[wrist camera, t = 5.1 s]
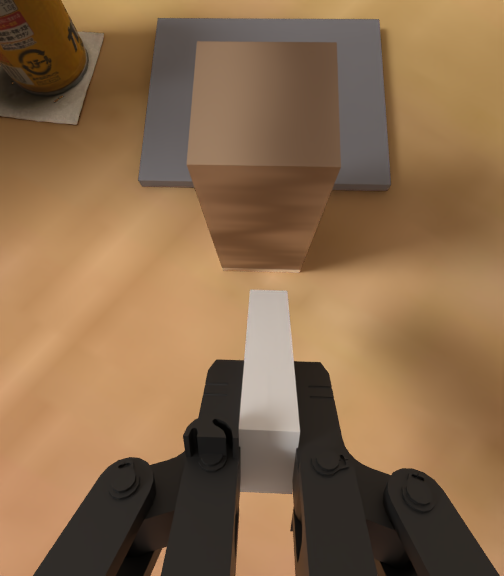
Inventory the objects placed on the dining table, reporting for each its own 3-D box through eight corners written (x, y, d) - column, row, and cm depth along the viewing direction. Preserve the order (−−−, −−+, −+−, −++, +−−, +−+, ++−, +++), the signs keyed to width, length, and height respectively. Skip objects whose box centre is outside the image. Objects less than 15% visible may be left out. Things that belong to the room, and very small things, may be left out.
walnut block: (223, 270, 23) (186, 164, 11) (226, 201, 24) (196, 41, 13) (299, 272, 23) (340, 166, 11) (299, 202, 24) (336, 42, 13)
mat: (142, 186, 25) (138, 180, 24) (160, 28, 28) (157, 18, 27) (386, 190, 24) (390, 184, 23) (375, 29, 28) (379, 19, 27)
